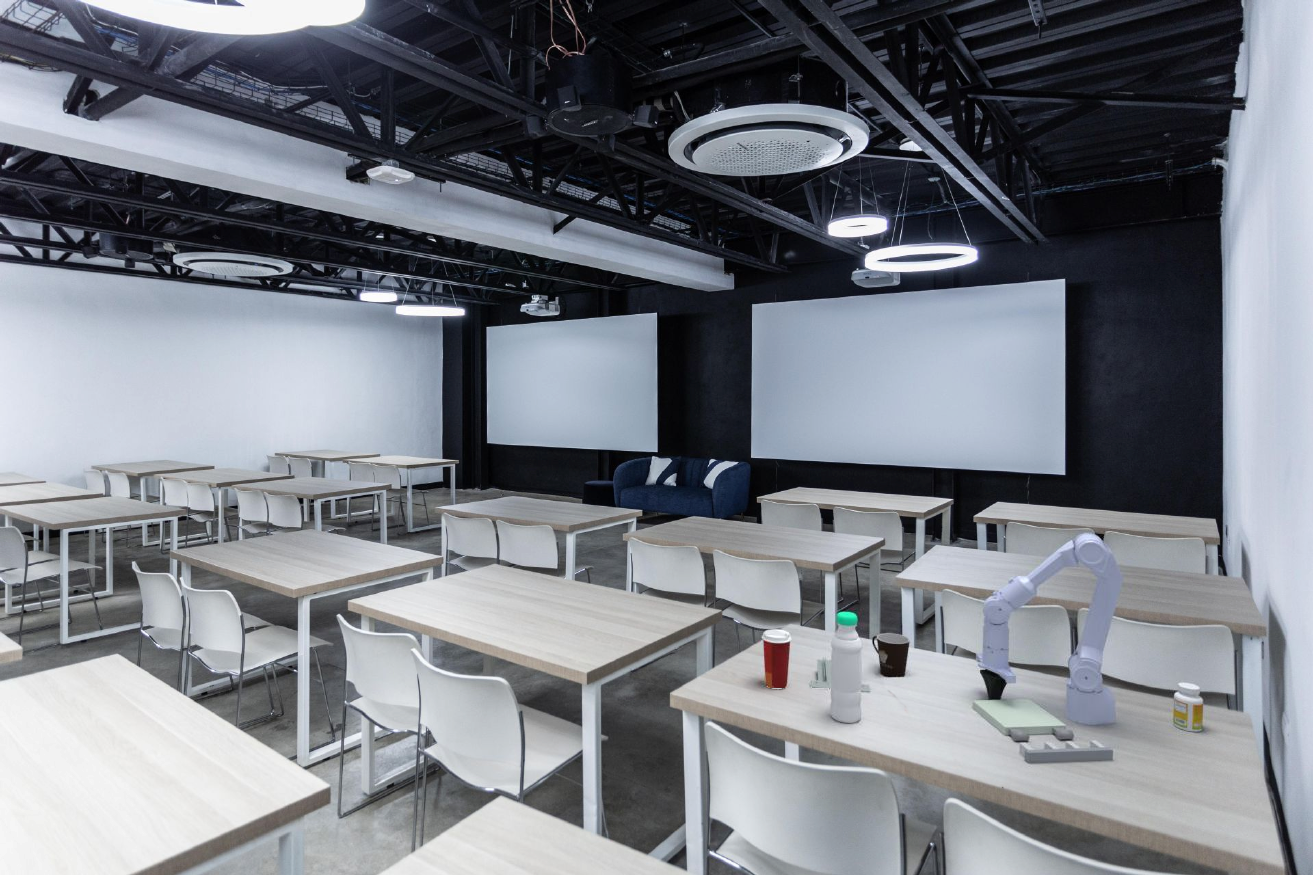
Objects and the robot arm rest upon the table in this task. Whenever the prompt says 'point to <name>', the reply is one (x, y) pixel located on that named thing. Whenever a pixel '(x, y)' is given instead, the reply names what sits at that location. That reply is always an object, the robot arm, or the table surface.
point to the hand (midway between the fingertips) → (994, 700)
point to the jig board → (1066, 753)
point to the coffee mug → (892, 654)
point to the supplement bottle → (1188, 708)
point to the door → (1021, 718)
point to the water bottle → (846, 670)
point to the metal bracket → (829, 676)
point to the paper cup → (776, 657)
